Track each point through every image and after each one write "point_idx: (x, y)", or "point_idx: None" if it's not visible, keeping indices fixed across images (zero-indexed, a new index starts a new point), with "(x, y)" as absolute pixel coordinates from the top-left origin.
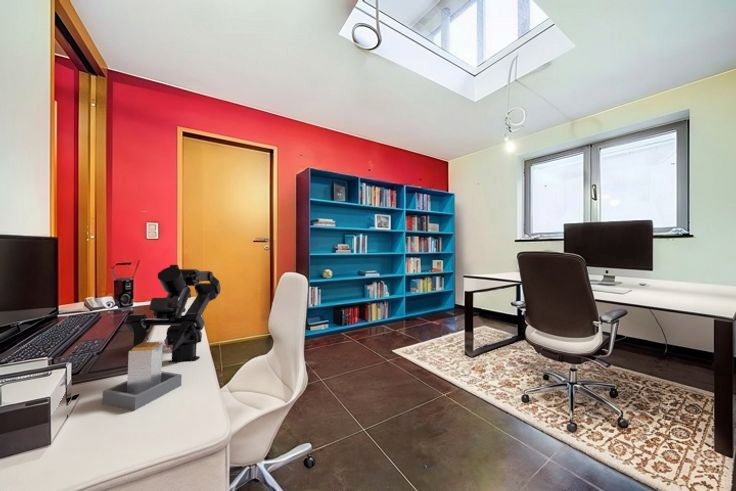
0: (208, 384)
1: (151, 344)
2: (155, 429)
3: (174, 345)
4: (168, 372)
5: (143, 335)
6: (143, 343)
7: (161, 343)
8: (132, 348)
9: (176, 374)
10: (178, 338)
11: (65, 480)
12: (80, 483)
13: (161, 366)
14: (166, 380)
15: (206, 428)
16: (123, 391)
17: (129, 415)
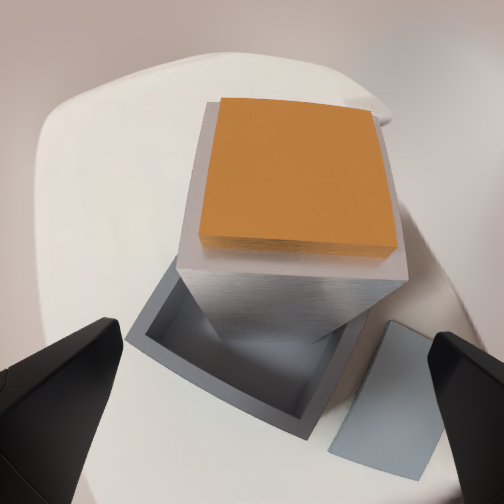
0: None
1: (250, 156)
2: (161, 131)
3: (91, 329)
4: (199, 385)
5: (494, 499)
6: (358, 202)
7: (186, 267)
8: (370, 116)
9: (148, 346)
10: (35, 358)
11: (256, 57)
12: (230, 52)
13: (210, 322)
14: (174, 283)
15: (66, 128)
16: None
17: None
